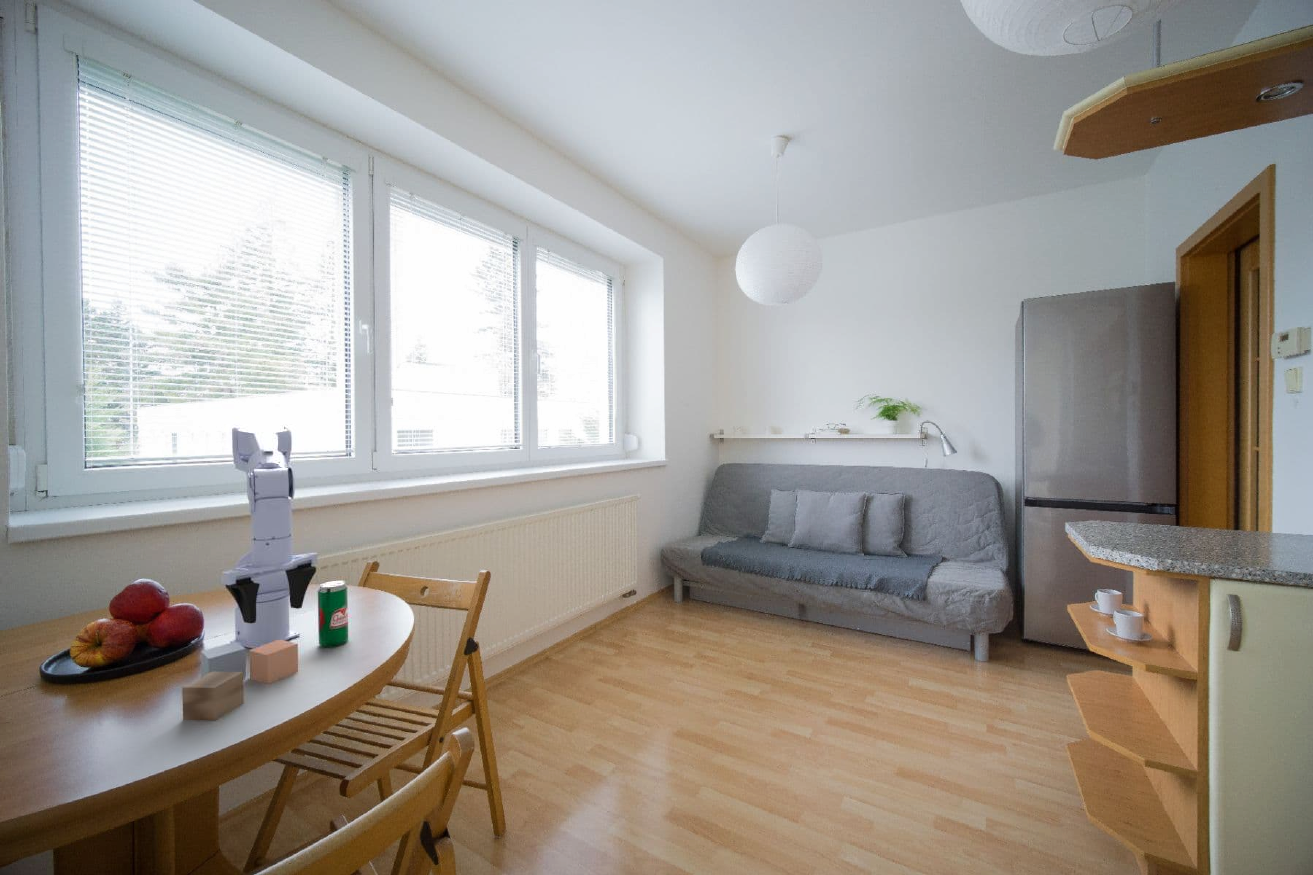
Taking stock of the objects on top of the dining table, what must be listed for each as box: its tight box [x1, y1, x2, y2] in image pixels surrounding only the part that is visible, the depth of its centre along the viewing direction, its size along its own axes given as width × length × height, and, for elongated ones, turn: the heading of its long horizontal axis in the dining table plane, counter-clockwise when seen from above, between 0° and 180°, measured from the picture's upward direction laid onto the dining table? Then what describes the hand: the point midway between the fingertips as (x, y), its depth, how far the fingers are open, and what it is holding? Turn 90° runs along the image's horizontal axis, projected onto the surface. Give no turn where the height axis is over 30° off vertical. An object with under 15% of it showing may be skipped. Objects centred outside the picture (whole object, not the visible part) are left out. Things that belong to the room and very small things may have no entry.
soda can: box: [317, 580, 349, 648], centre depth 104 cm, size 5×5×12 cm
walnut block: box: [181, 671, 245, 722], centre depth 79 cm, size 5×5×5 cm
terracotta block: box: [248, 639, 299, 685], centre depth 91 cm, size 5×5×5 cm
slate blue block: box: [200, 642, 247, 678], centre depth 90 cm, size 5×5×5 cm
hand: (273, 614), depth 91 cm, fingers open, 7 cm apart
